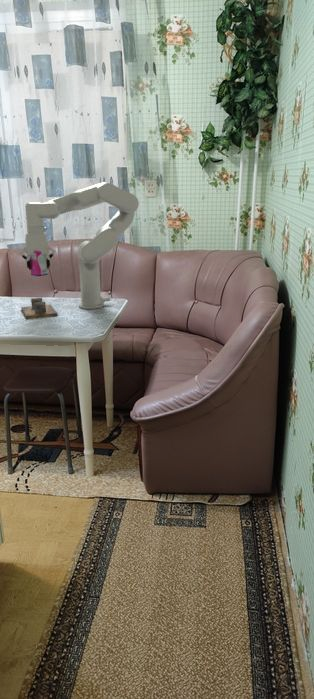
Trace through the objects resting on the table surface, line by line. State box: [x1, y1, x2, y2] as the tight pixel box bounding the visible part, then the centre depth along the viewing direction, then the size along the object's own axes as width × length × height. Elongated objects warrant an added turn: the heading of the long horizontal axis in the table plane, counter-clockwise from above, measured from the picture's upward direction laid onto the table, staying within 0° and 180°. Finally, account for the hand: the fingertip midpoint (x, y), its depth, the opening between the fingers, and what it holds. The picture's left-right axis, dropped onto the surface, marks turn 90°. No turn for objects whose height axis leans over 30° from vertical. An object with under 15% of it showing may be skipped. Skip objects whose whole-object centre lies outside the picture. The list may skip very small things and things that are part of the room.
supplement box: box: [29, 251, 49, 277], centre depth 239 cm, size 6×6×12 cm
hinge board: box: [21, 297, 59, 320], centre depth 239 cm, size 14×18×6 cm
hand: (38, 268), depth 240 cm, fingers closed on supplement box, 7 cm apart
